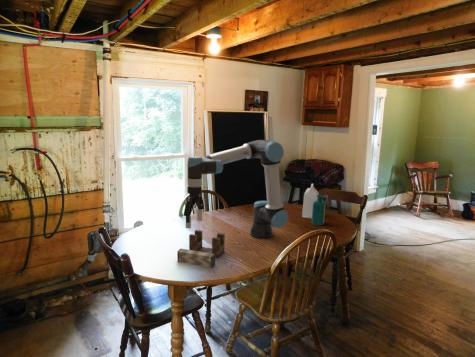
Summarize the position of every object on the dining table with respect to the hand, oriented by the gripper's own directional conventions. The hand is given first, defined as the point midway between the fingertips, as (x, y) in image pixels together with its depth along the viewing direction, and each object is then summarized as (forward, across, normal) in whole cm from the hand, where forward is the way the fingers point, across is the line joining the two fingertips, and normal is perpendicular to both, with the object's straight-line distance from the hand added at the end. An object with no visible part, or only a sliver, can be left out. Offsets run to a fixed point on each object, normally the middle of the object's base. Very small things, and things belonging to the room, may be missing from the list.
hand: (194, 224), depth 180 cm
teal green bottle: (+19, -90, +59) cm, 110 cm away
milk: (+19, -108, +51) cm, 121 cm away
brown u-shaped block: (+20, -11, +3) cm, 23 cm away
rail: (+20, +4, +3) cm, 21 cm away
